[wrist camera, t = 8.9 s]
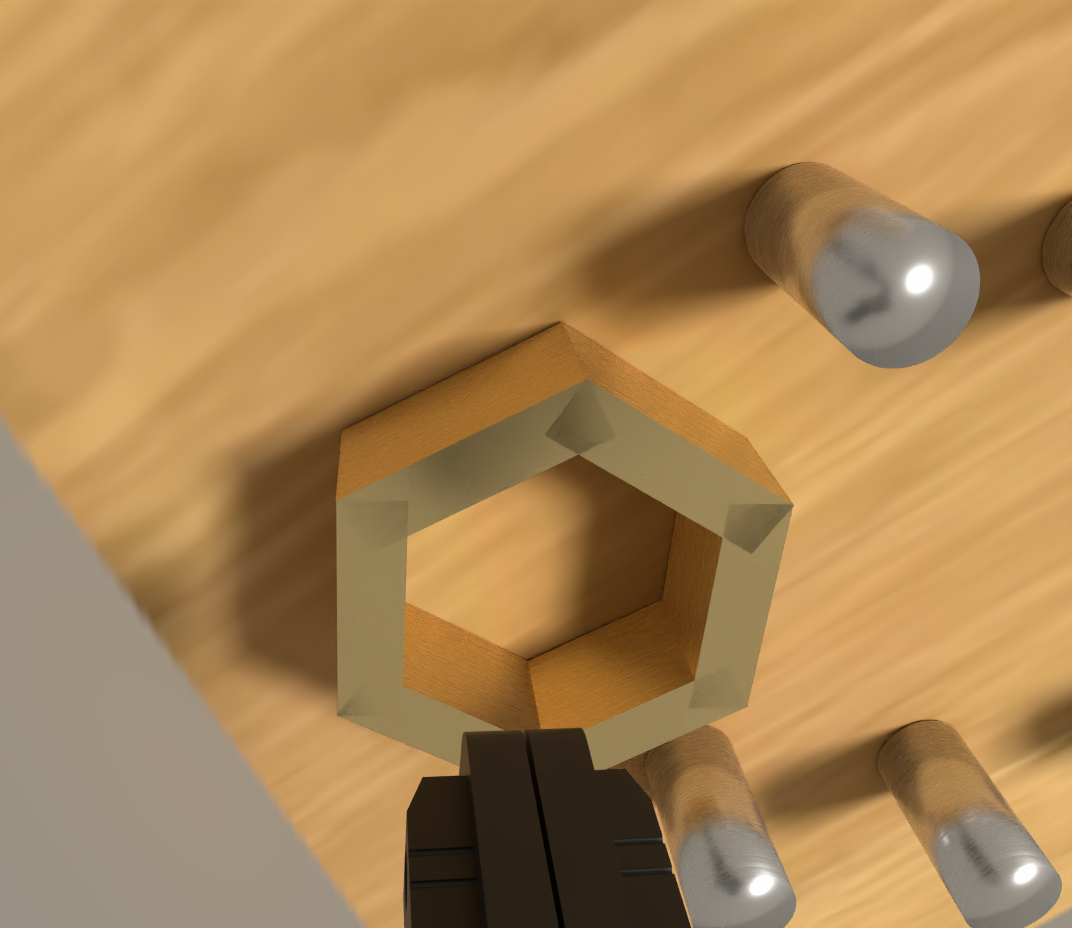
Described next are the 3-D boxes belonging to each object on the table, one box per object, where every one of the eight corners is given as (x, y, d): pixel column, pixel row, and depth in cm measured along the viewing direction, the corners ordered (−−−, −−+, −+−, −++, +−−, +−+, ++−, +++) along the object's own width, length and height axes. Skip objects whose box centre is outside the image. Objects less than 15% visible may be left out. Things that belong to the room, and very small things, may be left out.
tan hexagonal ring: (342, 713, 21) (337, 806, 19) (341, 313, 17) (334, 371, 15) (694, 705, 22) (728, 792, 20) (768, 329, 18) (821, 385, 16)
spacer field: (639, 794, 23) (684, 951, 19) (756, 158, 17) (856, 220, 13) (1173, 777, 25) (1301, 917, 21) (1459, 207, 19) (1707, 273, 15)
